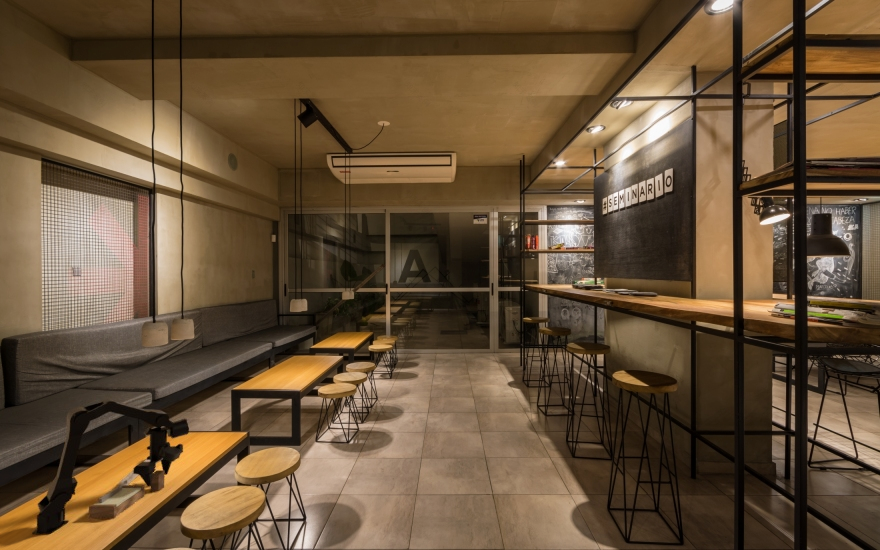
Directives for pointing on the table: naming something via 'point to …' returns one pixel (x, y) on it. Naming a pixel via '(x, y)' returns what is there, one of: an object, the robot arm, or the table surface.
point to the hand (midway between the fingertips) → (157, 480)
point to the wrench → (129, 477)
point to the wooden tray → (115, 505)
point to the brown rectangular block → (157, 480)
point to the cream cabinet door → (117, 496)
